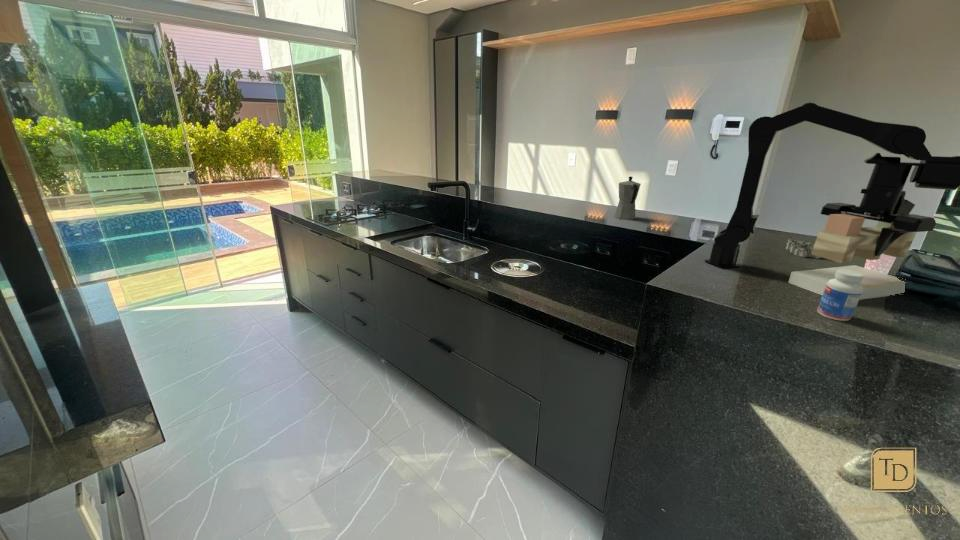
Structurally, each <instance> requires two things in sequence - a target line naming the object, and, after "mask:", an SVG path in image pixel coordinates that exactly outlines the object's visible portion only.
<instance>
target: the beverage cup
mask: <svg viewBox="0 0 960 540" xmlns="http://www.w3.org/2000/svg"><path fill="white" fill-rule="evenodd" d="M896 259H897V257H893V256H889V255H885V254H881V256H880V258H879V259H877V260H867V259H865V260H866V261H865V263H864V267H863V268H866V269H870V270H874V271H877V272H881V273H884V274H888V275H889V272H890V271H891V269H892V266H893V265H894V263H895V260H896Z"/></svg>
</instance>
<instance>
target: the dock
mask: <svg viewBox="0 0 960 540" xmlns="http://www.w3.org/2000/svg"><path fill="white" fill-rule="evenodd" d="M839 269H844V270H851V271H856V272H859V273H861V274H863V275H864V277H863V279H862V281H861V282H860V283H859V284H860V285H861V286H862V287H863V291H862V294H861V296H860V299H859V301H861V300H868V299H875V298H876V299H877V298H884V297H890V295H892V296H896V295H895V294H899V295H901V294H900V293H904V292H905V283H906V282H904V281H901V280H899V279H898V278H899V277H898V276H894V275H891V274H889V273H888V274H884V273H881V272H877V271H874V270H870V269H866V268H864V267H863V266H859V265H855V264H854V265H845V266H844V265H843V266H835V267H826V268H825V267H824V268H816V269H815V268H814V269H806V270H797V271H795V270H794V271H791V273H790V277H789V279H788V282H787V283H788V284H790V285H794V286H795V287H799V288H801V289H805V290H807V291H808V292H809V291H810V292H812V293H815V294H818V295H821V296H823V293H824V290H825V287H826V285H827V283H828V281H829V280H831V279H835V278H836V277H835V274H836V272H837V270H839ZM897 277H898V278H897Z"/></svg>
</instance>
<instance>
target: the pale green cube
mask: <svg viewBox="0 0 960 540" xmlns="http://www.w3.org/2000/svg"><path fill="white" fill-rule="evenodd" d="M911 214H912V213H911V212H910V213H909V215H911ZM913 214H914V215H918V214H915V213H913ZM893 215H896V214H893ZM896 216H899V214H898V215H896ZM875 226H876V228H880V229H882V228H888V227H890V226H891V223H886V222H881V221H877V224H876V225H875Z"/></svg>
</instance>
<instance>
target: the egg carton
mask: <svg viewBox="0 0 960 540" xmlns="http://www.w3.org/2000/svg"><path fill="white" fill-rule="evenodd" d="M813 247H814V244H812V242H809V241H808V242H805V240H799V239H790V238H789V237H788V238H787V244H786V246H785V249H786V250H788V251H789V252H790V253H792V254H794V256H795V255H796V256H797V257H800V256H801V257H800V258H806V257H807V258H813V259H818V260H819V259H821V258H822V257H819V256H815V255H812V254H811V253H812V250H813ZM807 250H808V251H807Z"/></svg>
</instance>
